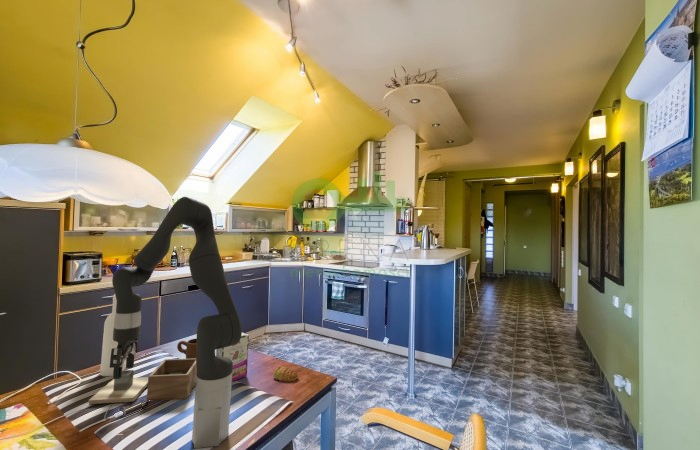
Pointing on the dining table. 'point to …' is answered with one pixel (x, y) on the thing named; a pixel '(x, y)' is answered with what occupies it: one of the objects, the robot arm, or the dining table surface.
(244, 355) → the candy bar box
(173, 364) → the box
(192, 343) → the mug
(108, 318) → the bottle
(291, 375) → the pastry
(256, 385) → the dining table surface
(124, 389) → the lid
